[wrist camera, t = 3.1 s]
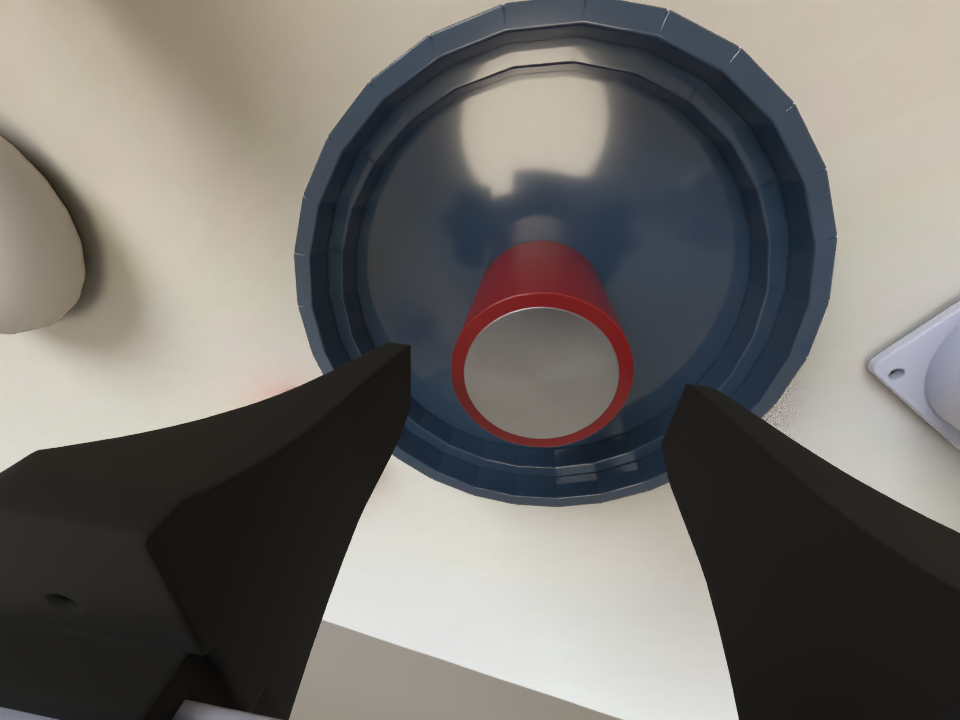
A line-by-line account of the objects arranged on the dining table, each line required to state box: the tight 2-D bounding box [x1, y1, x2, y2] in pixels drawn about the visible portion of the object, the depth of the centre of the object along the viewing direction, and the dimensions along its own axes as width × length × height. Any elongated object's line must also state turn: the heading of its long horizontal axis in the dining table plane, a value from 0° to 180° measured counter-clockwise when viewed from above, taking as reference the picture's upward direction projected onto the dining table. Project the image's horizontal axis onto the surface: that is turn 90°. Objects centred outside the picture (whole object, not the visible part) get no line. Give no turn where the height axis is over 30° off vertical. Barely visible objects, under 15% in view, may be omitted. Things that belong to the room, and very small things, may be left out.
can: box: [451, 241, 634, 447], centre depth 14 cm, size 5×5×6 cm
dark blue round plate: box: [294, 0, 837, 507], centre depth 15 cm, size 18×18×3 cm
